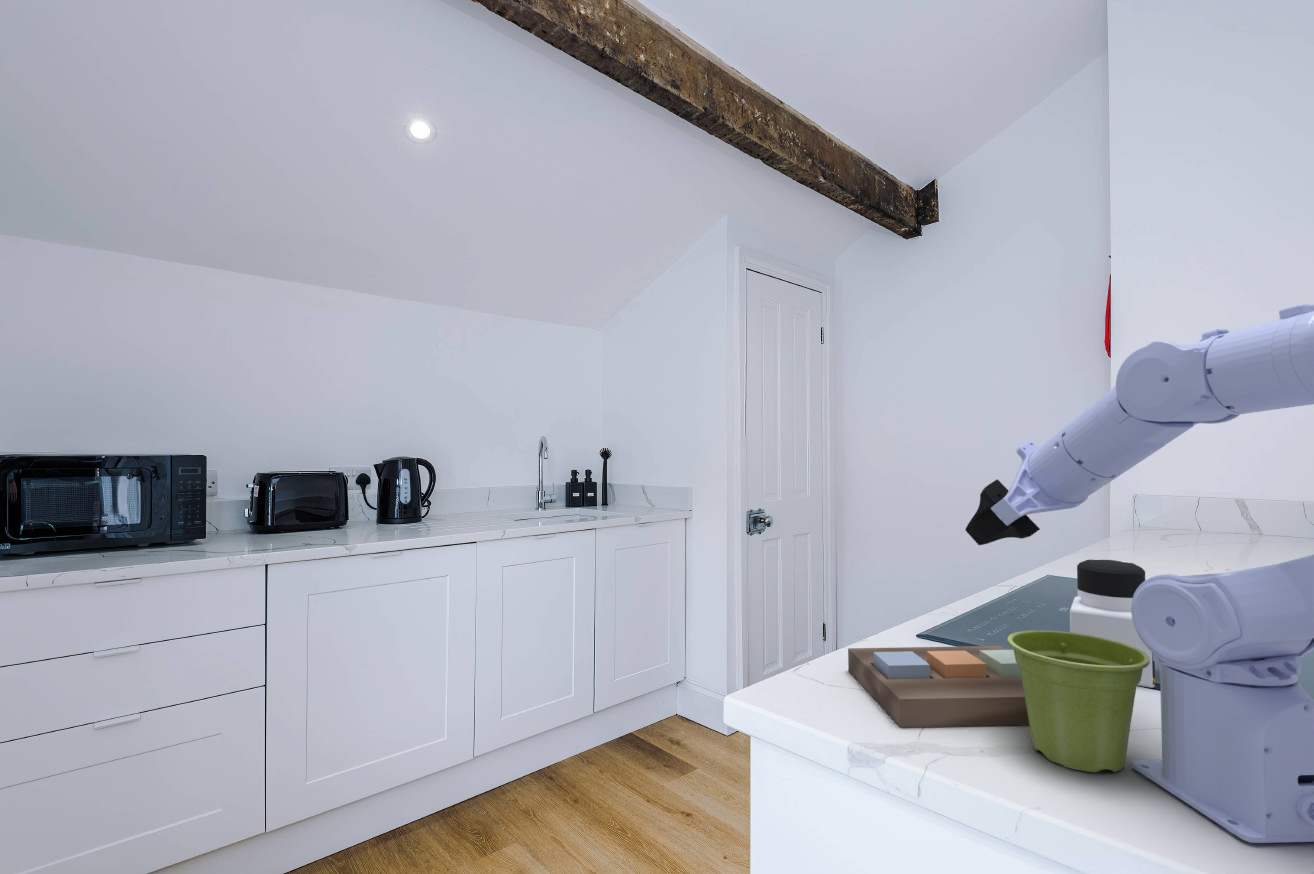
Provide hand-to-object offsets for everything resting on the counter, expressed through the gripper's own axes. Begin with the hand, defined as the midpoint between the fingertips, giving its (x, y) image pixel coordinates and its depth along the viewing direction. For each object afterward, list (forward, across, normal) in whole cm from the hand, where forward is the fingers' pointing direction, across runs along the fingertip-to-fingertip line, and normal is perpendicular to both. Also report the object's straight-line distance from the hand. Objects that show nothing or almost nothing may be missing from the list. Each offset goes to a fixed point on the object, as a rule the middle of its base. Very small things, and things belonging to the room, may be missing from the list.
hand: (996, 520), depth 65 cm
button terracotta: (+7, +12, +10) cm, 17 cm away
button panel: (+8, +12, +11) cm, 18 cm away
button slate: (+8, +16, +7) cm, 19 cm away
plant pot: (-2, +14, +18) cm, 23 cm away
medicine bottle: (+10, -7, +19) cm, 22 cm away
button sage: (+6, +7, +13) cm, 16 cm away
